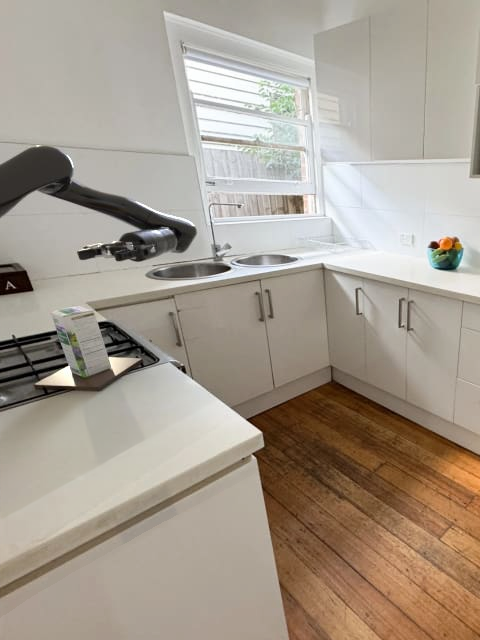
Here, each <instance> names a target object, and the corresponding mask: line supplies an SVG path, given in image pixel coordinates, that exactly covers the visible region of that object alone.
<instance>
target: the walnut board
mask: <svg viewBox="0 0 480 640" xmlns="http://www.w3.org/2000/svg"><path fill="white" fill-rule="evenodd" d="M108 358H109V361H110V364H111V368H109V369H107V370H104V371H102V372H99V373H97V374H94V375H91V376H89V377H86V378H84V377H82V376H79V375H77V374H75V373H72V372H71V370H70V367H69V365H68V366H65V367H64V368H62V369H60V370H58V371H56V372H54V373H52V374H50V375H48V376H47V377H45V378H43V379H40V380H39V381H38V382H36V383H34V384H33V388H34V389H35V390H44V389H43V386H44V387H45V388H46V389H45V390H58V391H59V390H60V389H75V390H74V391H86V390H87V391H88V390H89V392H91V391H92V392H100V391H103V390H104V389H105V388H107V387H109V385H111V384H113V383H114V382H116V381H117V380H119V379H120V378H121V377H123V376H125V375H126V374H127V373H129V372H130V371H132V370H134V369H135V368H137V367H138V366H140V365H141V364H142V363H144V359H143V358H141V357H119V356H118V357H114V356H108ZM128 371H129V372H128ZM126 372H127V373H126ZM125 373H126V374H125Z"/></svg>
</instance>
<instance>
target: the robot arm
mask: <svg viewBox="0 0 480 640" xmlns="http://www.w3.org/2000/svg"><path fill="white" fill-rule="evenodd" d="M74 171H75V168H74V164H73V161H72V159H71V158H70V156H69V155H68V154H67V153H65V151H62V150H61V149H59V148H56V147H54V146H49V145H34V146H31V147H28V148H26V149H25V150H23V151H21V152H19V153H18V154H16V155H14V156H12V157H11V158H9V159H7V160H6V161H3V162H2V163H0V220H1V219H2V218H4V217H5V216H6V215H8V214H9V213H10V212H11V211H12V210H13V209H14V208H15V207H16V206H17V205H18V204H19V203H20V202H21V201H23V200H24V199H25V198H26V197H28V196H29V195H31V194H32V193H35V192H39V193H42V194H43V195H47V196H49V197H52V198H56V199H58V200H62V201H65V202H68V203H70V204H74V205H76V206H80V207H82V208H85V209H88V210H92V211H94V212H97V213H100V214H102V215H106V216H108V217H110V218H113V219H116V220H118V221H119V222H122V223H124V224H126V225H128V226H130V227H133V228H135V229H137V230H135V231H130V232H125V233H123V234H122V235H121V236H120V237H119V240H116V241H115V240H114V241H113V242H99V243H94V244H89V245H83V246H82V249H78V250H77V252H76V253H77V256H78V259H79V260H80V261H87V260H91V259H96V258H104V259H111V258H113V259H114V260H115V261H116V262H123V261H127V260H129V261H132V262H136V263H141V262H144V261H149V260H151V259H153V258H157V257H160V256H162V255H164V254H169V253H170V254H171V253H172V254H177V255H178V254H183V253H186V251H188V250H189V248H190V246H191V245H192V244H193V241H194V240H195V238H196V237H197V235H198V229H197V227H196V226H195V224H193V222H191V221H189V220H187V219H185V218H182V217H178V216H173V215H169V214H166V213H162V212H159V211H156V210H154V209H152V208H151V207H148V206H147V205H145V204H142V203H141V202H139V201H136V200H134V199H132V198H129V197H126V196H122V195H119V194H113V193H108V192H104V191H100V190H97V189H93V188H91V187H89V186H87V185H84V184H83V183H80V182H78V181H77V180H75V179H73V177H74Z"/></svg>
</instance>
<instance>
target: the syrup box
mask: <svg viewBox="0 0 480 640" xmlns="http://www.w3.org/2000/svg"><path fill="white" fill-rule="evenodd" d="M50 317H51V319H52V322H53V324H54V328H55V330H56V333H57V337H58V339H59V342H60V345H61V348H62V351H63V353H64V356H65V359H66V362H67V365H68V366H69V367H70V370H71V372H72V373H75V374H77V375H79V376H82V377H84V378H86V377H89V376H91V375H94V374H97V373H99V372H102V371H104V370H107V369H109V368H111V364H110V361H109V358H108V357H109V355H108V352H107V348H106V346H105V342H104V339H103V336H102V335H103V334H102V333H101V328H100V326H99V323H98V319H97V315H96V312H95V310H94V309H90V308H86V307H83V306H80V305H78V306H71V307H66V308H61V309H58V310H54V311H51V312H50Z"/></svg>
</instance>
